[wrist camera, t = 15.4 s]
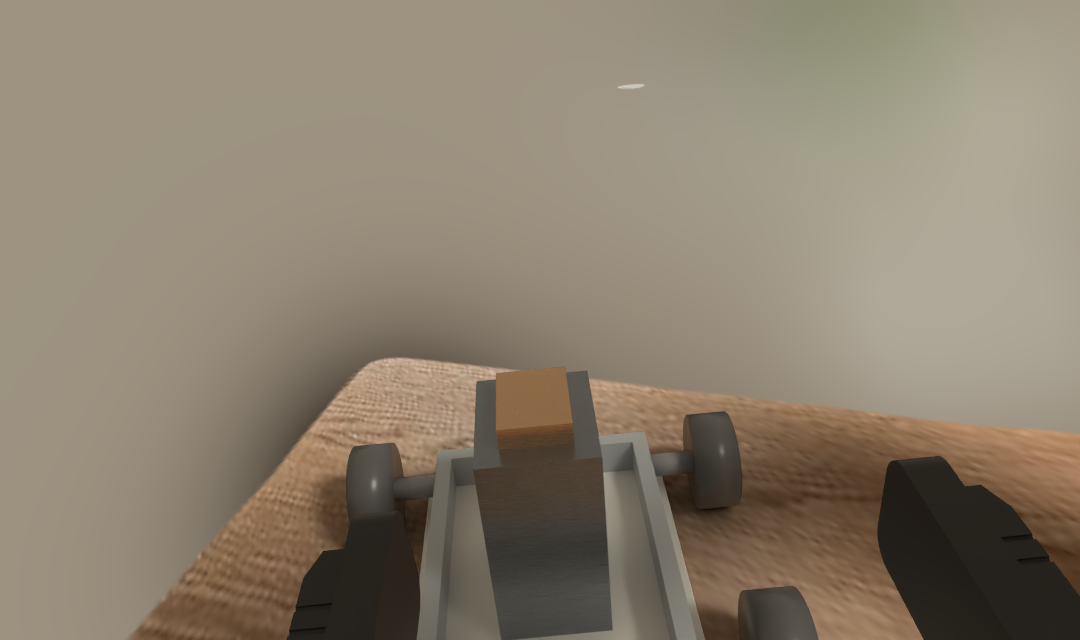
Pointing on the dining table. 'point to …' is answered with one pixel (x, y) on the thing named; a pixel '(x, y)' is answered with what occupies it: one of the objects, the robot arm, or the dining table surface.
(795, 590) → the chassis
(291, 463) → the dining table surface
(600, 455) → the tall block with cap
